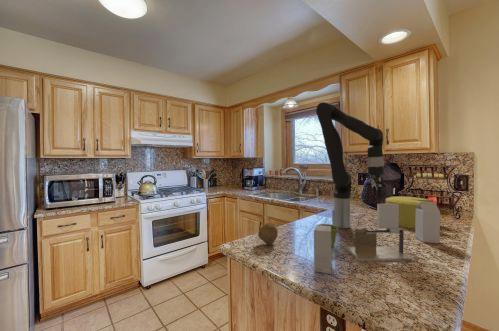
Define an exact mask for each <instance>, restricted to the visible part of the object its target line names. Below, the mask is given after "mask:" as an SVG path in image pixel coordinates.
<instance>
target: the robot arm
mask: <svg viewBox="0 0 499 331" xmlns="http://www.w3.org/2000/svg"><path fill="white" fill-rule="evenodd" d="M315 108H316V110H315V111H316V117H317V119H318V122H319V125H320V128H321V132H322V136H323V141H324V146H325V150H326V153H327V157H328V160H329V164H330V170H331V177H332V182H333V184H334V191H333V204H332V205H333V209H332V212H331V214H332V217H331V218H332V220H331V222H332V223H331V225H334V226H337V227H338V228H339V229H349V228H350V227H351V195H352V194H351V193H352V175H351V173H350V172H349V171H347V170H346V166H345V164H344V148H343V142H342V139H341V135H340V133H339V132H338V130H337V128H336V127H335V125H334V123H333V121H334V122H337V123H339V124H340V125H341V126H343V127H344V128H346V129H348V130H349V131H350V132H353V133H355V134H357V135H359V136H360V137H362V139H365V140H366V141H368V148H367V174H368V175H369V176H370V186H371V188H372V195H373V196H376V197H377V198H379V199H380V198H383V190H384V180H383V177H382V175H385V164H384V162H385V160H384V156H383V155H384V152H383V151H384V150H383V145H384V144H383V143H384V133H383V131H382V130H381V129H380V128H376V127H373V126H371V125H369V124H367V123H366V122H364V121H363V120H361V119H358V118H356V117H354V116H351V115H350V114H347V113H346V112H344V111H342V110H341V109H339V108H338V107H336V106H335V105H334V104H333V103H330V102H325V101H321V102H320V103H318V104H317V105H316V107H315Z"/></svg>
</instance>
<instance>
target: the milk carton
mask: <svg viewBox="0 0 499 331" xmlns="http://www.w3.org/2000/svg"><path fill="white" fill-rule="evenodd" d="M414 230H415V231H414V232H415V233H414V234H415V235H414V238H416V239H418V240H419V241H421V242H422V243H434V244H440V242H441V241H440V238H441V236H440V235H441V211H440V209H439V207H438V205H437V202H436V201H434V202H419V205H418V206H417V207H416V221H415V228H414Z"/></svg>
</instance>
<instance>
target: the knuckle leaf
mask: <svg viewBox="0 0 499 331" xmlns="http://www.w3.org/2000/svg"><path fill="white" fill-rule="evenodd" d="M376 204H377V205H376V207H377V208H376V228H377V229H385V230H390V233H389V234H399V232H400V230H401V229H400V228H399V227H400V226H399V204H386V203H376Z"/></svg>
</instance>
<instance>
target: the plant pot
mask: <svg viewBox="0 0 499 331" xmlns="http://www.w3.org/2000/svg"><path fill="white" fill-rule="evenodd" d="M318 225H322V226H331V248H334V247H335V244H336V238H337V233H338V230H339V229H340V228H338V227H337V226H334V225H332V224H329V223H328V224H327V223H320V224H318Z"/></svg>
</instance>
